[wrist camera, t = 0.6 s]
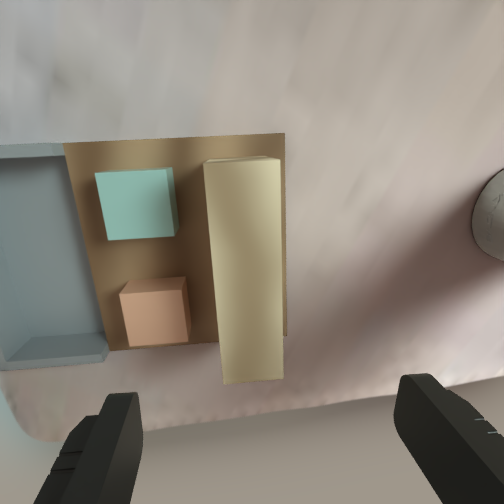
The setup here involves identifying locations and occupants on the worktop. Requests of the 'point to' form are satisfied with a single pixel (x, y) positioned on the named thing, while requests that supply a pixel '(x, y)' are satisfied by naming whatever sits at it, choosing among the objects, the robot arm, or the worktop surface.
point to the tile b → (156, 311)
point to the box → (44, 265)
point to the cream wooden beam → (247, 265)
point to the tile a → (138, 203)
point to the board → (162, 248)
